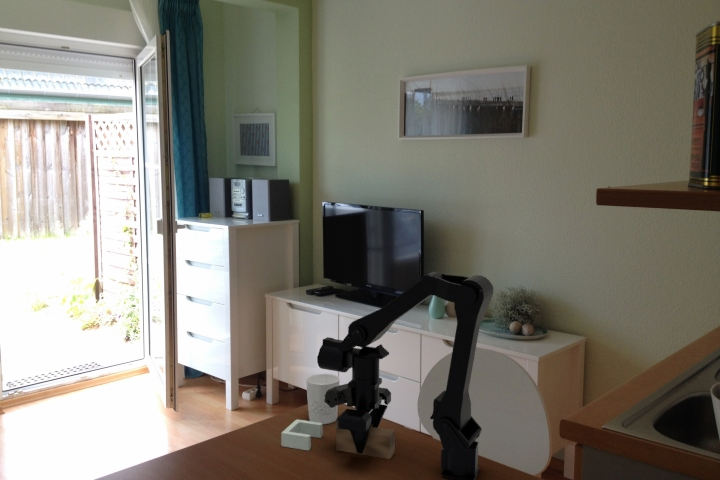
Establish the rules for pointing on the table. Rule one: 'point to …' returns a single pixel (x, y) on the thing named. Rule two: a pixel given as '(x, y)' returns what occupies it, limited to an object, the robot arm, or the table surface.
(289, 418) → the table surface
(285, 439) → the bracket
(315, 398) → the white cup
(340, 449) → the brown wooden block
